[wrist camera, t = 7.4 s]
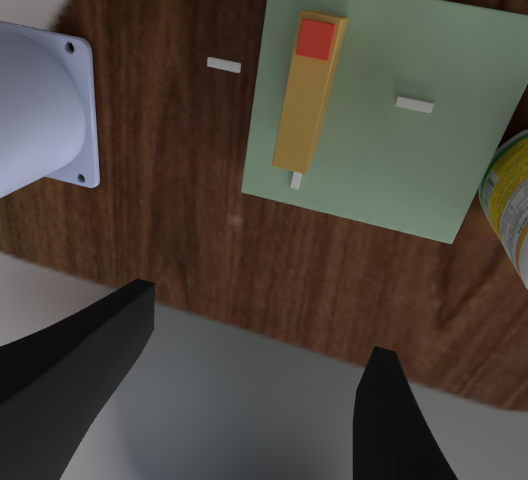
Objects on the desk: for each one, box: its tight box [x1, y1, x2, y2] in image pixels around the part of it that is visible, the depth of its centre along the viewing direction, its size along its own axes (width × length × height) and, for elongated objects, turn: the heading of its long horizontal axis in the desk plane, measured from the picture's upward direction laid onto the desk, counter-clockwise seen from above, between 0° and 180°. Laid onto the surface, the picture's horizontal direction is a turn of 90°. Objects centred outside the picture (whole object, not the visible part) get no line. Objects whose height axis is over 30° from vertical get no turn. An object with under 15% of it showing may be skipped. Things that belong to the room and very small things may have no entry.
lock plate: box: [207, 0, 528, 244], centre depth 17 cm, size 12×10×3 cm
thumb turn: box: [272, 10, 349, 174], centre depth 15 cm, size 5×1×4 cm, turn 170°
